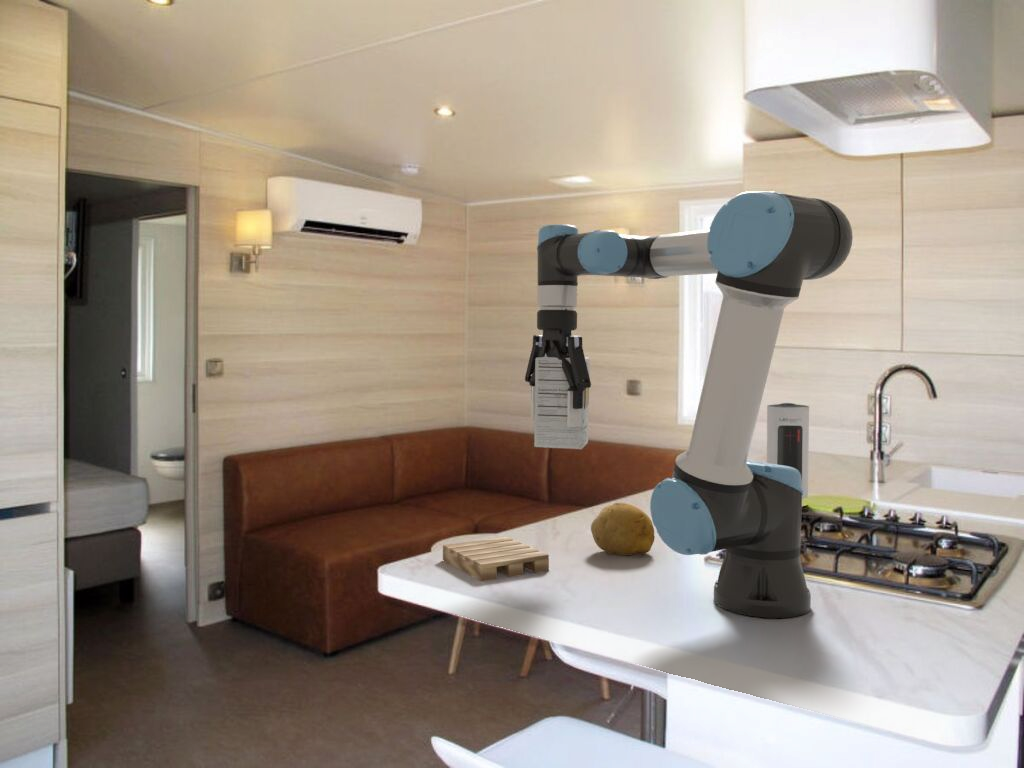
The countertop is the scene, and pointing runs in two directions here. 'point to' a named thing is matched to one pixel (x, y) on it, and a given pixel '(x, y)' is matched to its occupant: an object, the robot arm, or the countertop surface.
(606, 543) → the potato
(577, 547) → the countertop surface
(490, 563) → the wooden pallet
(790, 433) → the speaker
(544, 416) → the supplement box
